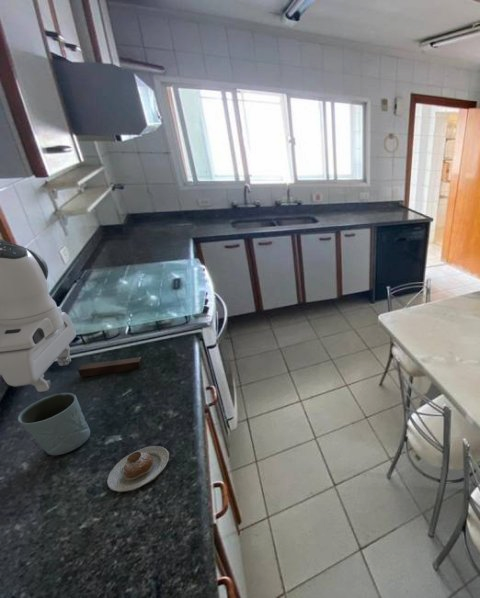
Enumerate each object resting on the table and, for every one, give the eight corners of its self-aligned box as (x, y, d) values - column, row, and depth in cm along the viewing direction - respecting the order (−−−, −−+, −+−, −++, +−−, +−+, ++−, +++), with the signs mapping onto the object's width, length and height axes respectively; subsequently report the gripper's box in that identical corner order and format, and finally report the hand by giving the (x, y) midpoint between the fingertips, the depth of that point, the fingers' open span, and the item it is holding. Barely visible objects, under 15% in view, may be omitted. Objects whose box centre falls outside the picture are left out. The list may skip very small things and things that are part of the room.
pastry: (173, 443, 86) (168, 430, 84) (165, 482, 76) (159, 469, 74) (117, 458, 82) (110, 445, 79) (101, 502, 72) (93, 489, 70)
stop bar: (80, 377, 107) (77, 369, 105) (84, 371, 109) (81, 364, 108) (140, 369, 112) (138, 361, 111) (143, 364, 115) (140, 356, 114)
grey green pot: (101, 422, 90) (83, 389, 85) (83, 452, 82) (63, 417, 77) (54, 432, 87) (33, 397, 82) (31, 464, 79) (6, 428, 73)
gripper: (38, 303, 76) (59, 353, 81) (-23, 350, 59) (10, 409, 64) (73, 300, 78) (92, 349, 84) (24, 345, 61) (52, 402, 67)
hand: (56, 375), depth 74 cm, fingers open, 8 cm apart
